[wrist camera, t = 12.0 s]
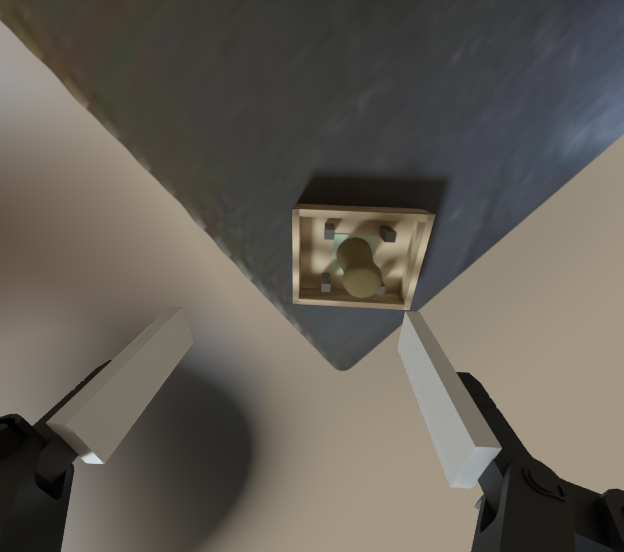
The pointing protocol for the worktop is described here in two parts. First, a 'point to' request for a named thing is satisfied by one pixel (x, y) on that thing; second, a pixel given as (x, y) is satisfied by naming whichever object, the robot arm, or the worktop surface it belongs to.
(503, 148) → the worktop surface
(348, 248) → the cork
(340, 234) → the socket box
